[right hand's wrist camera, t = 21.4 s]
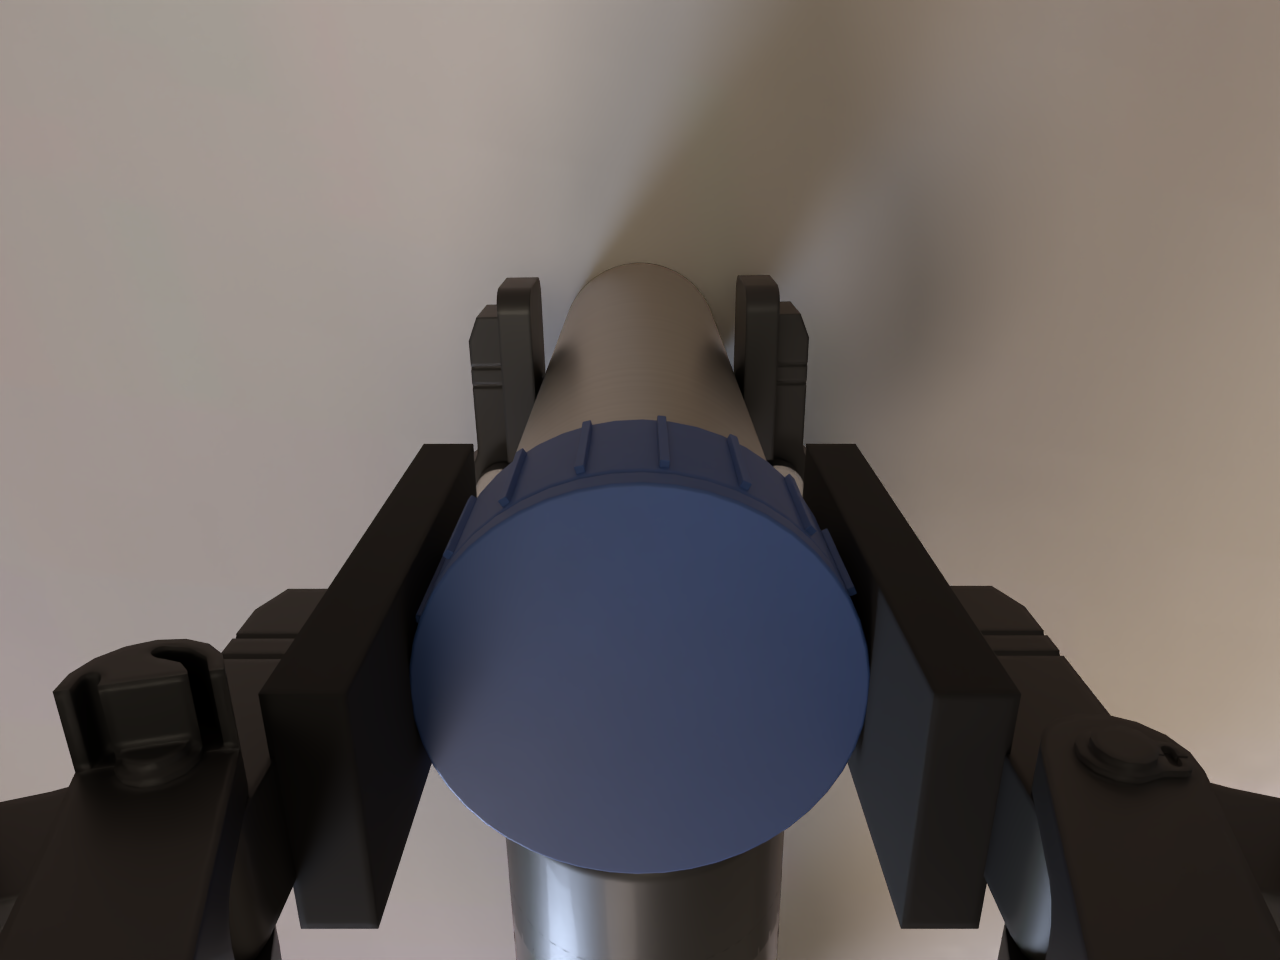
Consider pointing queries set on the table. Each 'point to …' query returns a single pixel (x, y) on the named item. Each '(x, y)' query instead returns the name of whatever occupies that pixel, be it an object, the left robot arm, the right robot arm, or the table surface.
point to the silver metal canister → (639, 360)
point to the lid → (639, 651)
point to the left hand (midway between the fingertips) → (636, 285)
